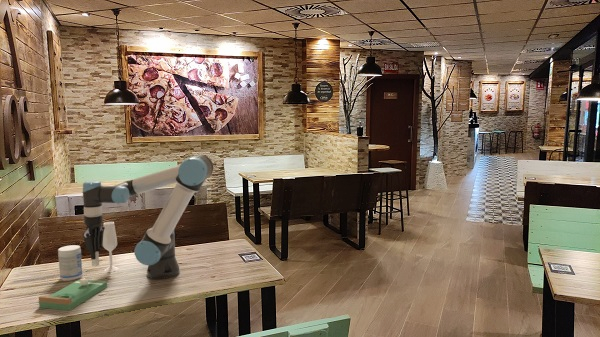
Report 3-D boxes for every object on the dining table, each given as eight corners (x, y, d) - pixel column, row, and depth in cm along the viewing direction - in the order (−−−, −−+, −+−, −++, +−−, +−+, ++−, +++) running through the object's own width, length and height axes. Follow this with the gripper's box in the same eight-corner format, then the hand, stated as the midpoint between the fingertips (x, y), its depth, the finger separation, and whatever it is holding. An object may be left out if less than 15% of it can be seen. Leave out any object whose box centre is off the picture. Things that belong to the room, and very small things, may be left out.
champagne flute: (119, 266, 222) (116, 220, 219) (118, 271, 216) (115, 224, 213) (104, 268, 220) (102, 221, 217) (103, 272, 214) (100, 225, 211)
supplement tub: (83, 278, 206) (81, 248, 204) (61, 283, 201) (58, 252, 199) (81, 272, 214) (79, 243, 212) (59, 276, 209) (57, 246, 207)
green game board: (107, 286, 197) (106, 277, 196) (70, 310, 173) (69, 299, 173) (79, 284, 199) (78, 275, 199) (39, 307, 176) (38, 297, 175)
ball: (89, 284, 193) (89, 277, 193) (84, 287, 190) (84, 280, 190) (83, 284, 194) (82, 277, 193) (78, 286, 191) (77, 279, 190)
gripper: (95, 211, 204) (97, 259, 207) (75, 218, 191) (78, 269, 194) (109, 212, 203) (111, 261, 206) (91, 219, 190) (93, 270, 193)
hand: (95, 265), depth 200 cm, fingers closed
